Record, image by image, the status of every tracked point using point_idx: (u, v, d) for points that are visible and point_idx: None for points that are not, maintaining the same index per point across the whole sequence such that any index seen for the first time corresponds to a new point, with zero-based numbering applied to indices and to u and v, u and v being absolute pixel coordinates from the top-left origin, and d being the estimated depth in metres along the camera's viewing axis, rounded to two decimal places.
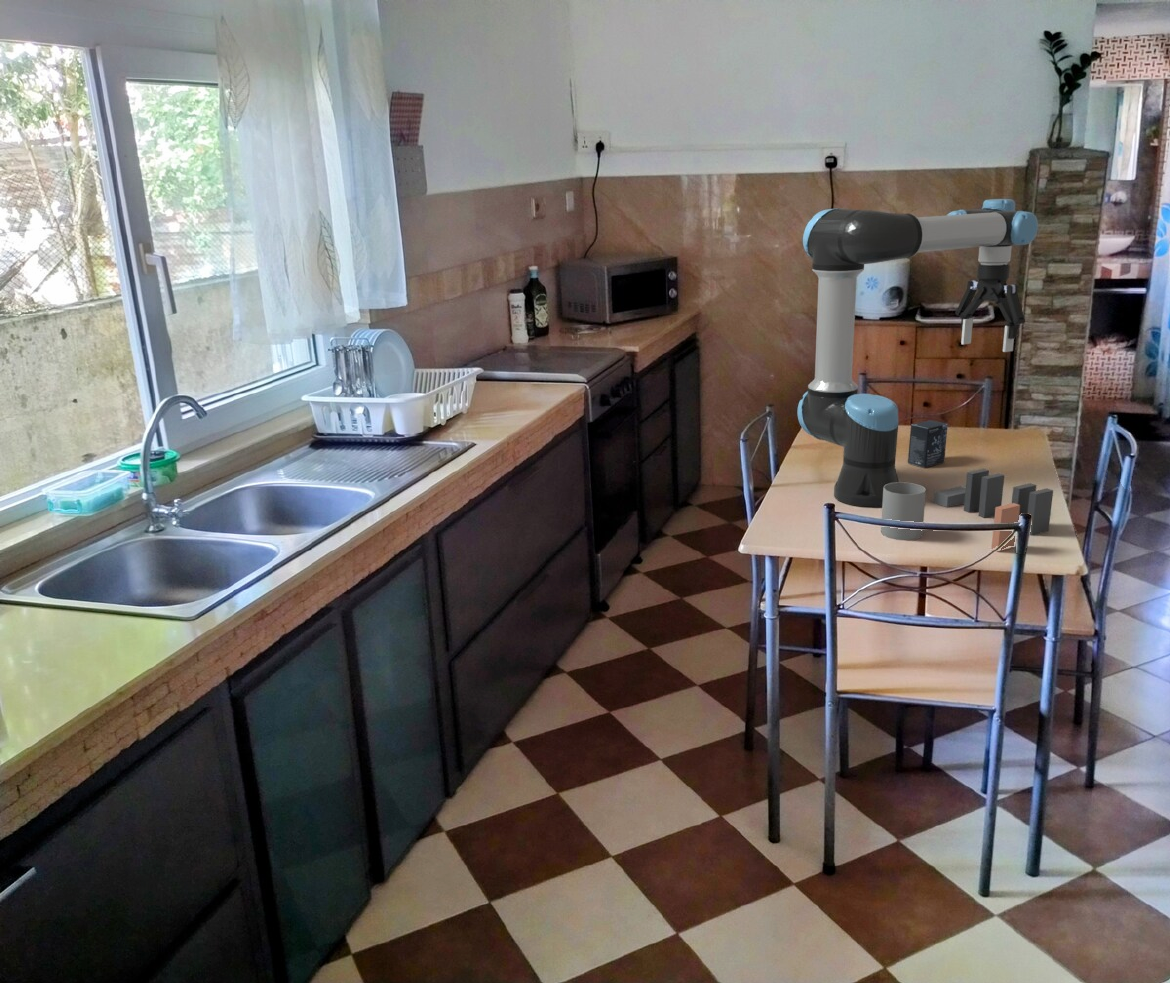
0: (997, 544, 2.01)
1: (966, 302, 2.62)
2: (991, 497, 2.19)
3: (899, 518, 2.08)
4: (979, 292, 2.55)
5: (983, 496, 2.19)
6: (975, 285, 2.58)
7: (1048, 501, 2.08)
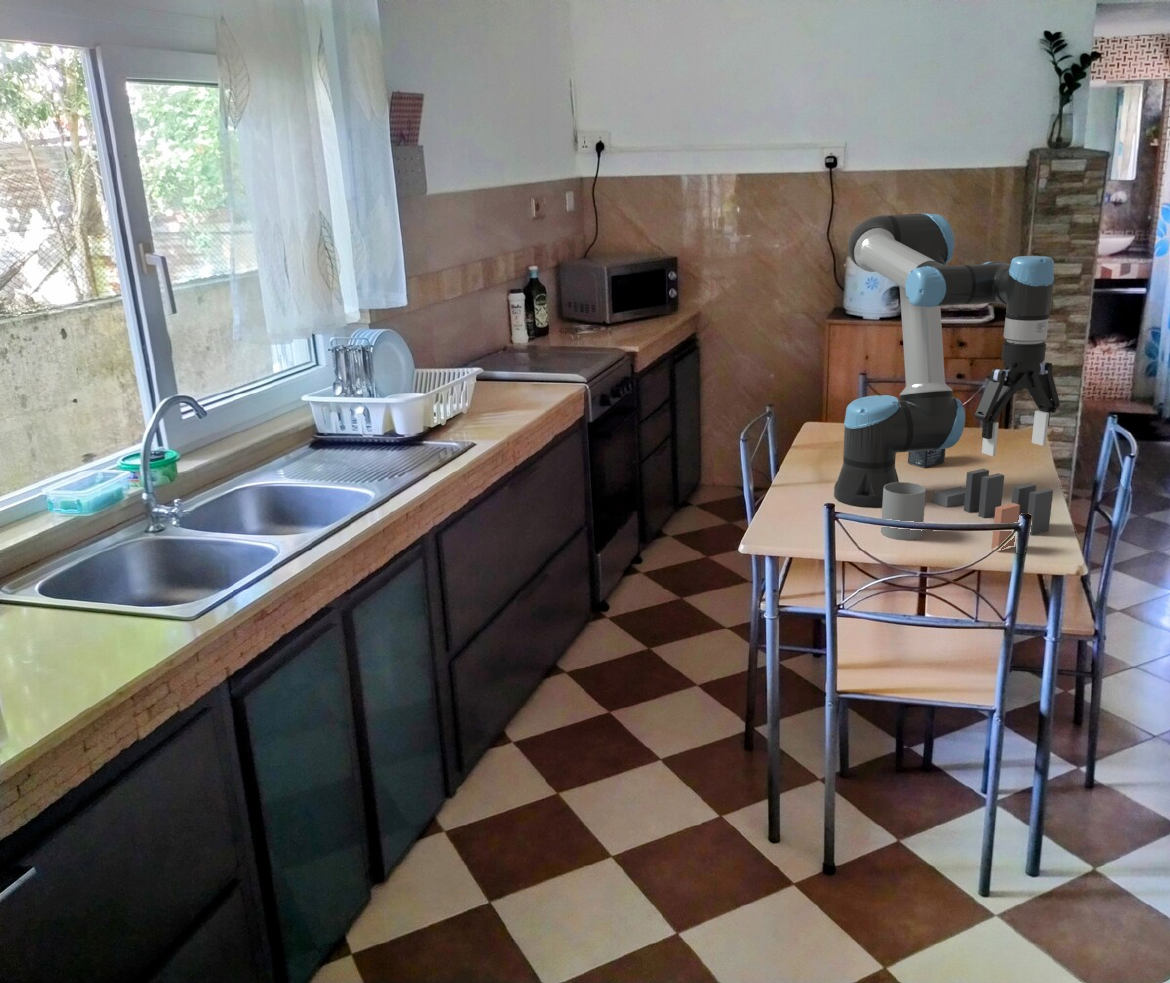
0: (997, 544, 2.01)
1: (1045, 389, 1.96)
2: (991, 496, 2.19)
3: (899, 518, 2.08)
4: None
5: (983, 496, 2.19)
6: None
7: (1048, 501, 2.08)
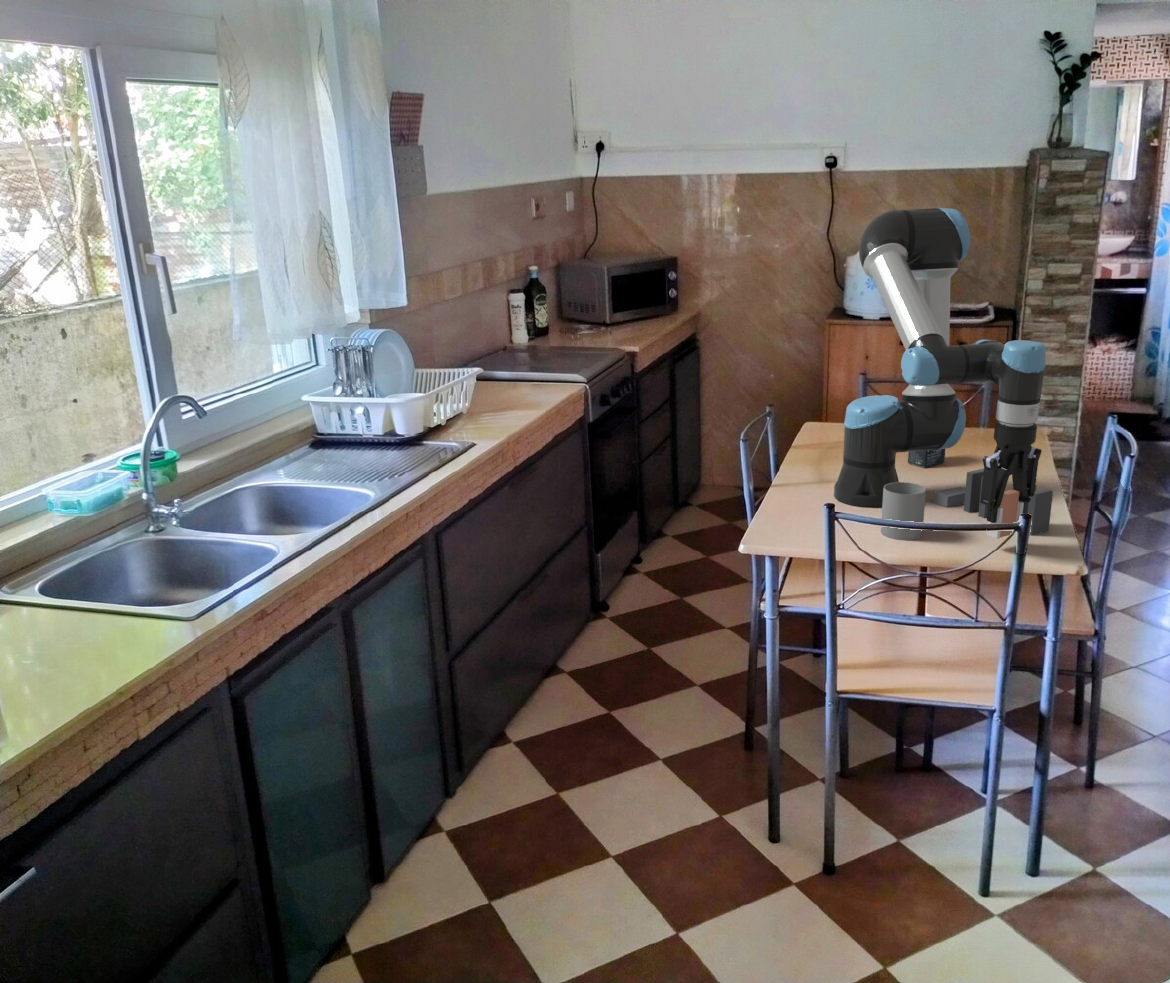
0: None
1: (1025, 475, 2.01)
2: None
3: (899, 518, 2.08)
4: None
5: None
6: None
7: (1048, 501, 2.08)
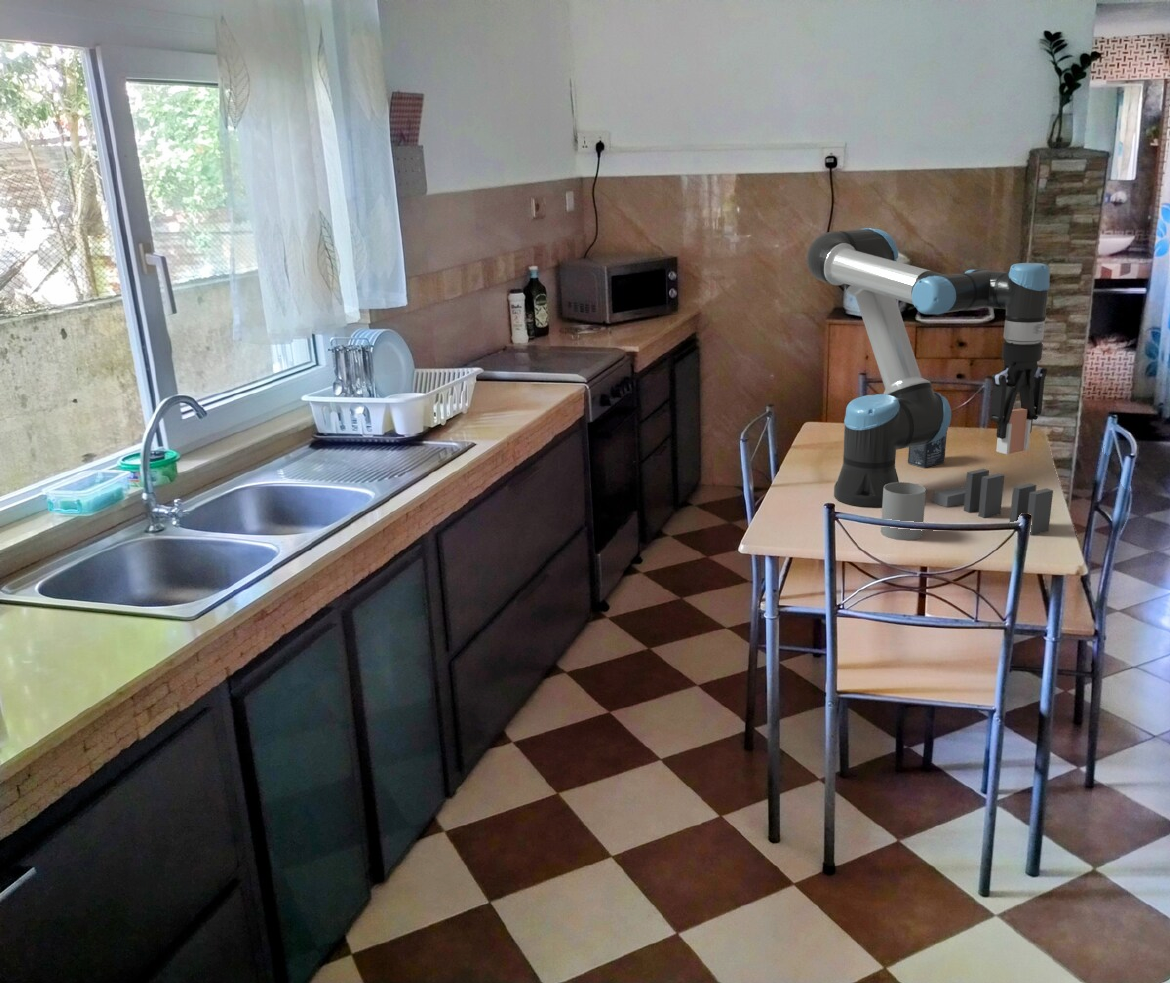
0: None
1: (1032, 394, 2.12)
2: (991, 497, 2.19)
3: (899, 518, 2.08)
4: None
5: (983, 496, 2.19)
6: None
7: (1048, 501, 2.08)
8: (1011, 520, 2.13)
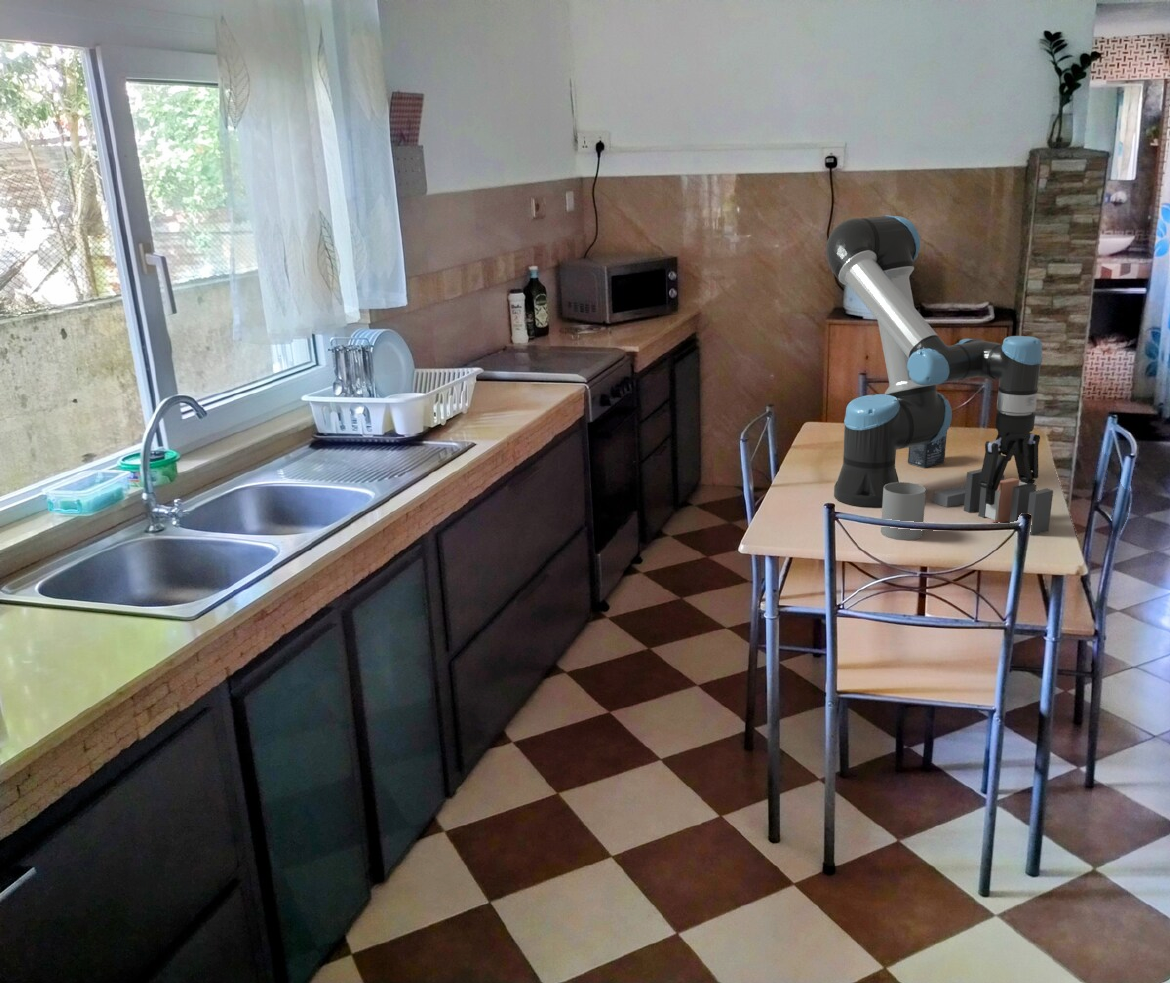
0: (998, 516, 2.16)
1: (1028, 459, 2.17)
2: None
3: (899, 518, 2.08)
4: None
5: (983, 496, 2.19)
6: None
7: (1048, 501, 2.08)
8: (1011, 520, 2.13)
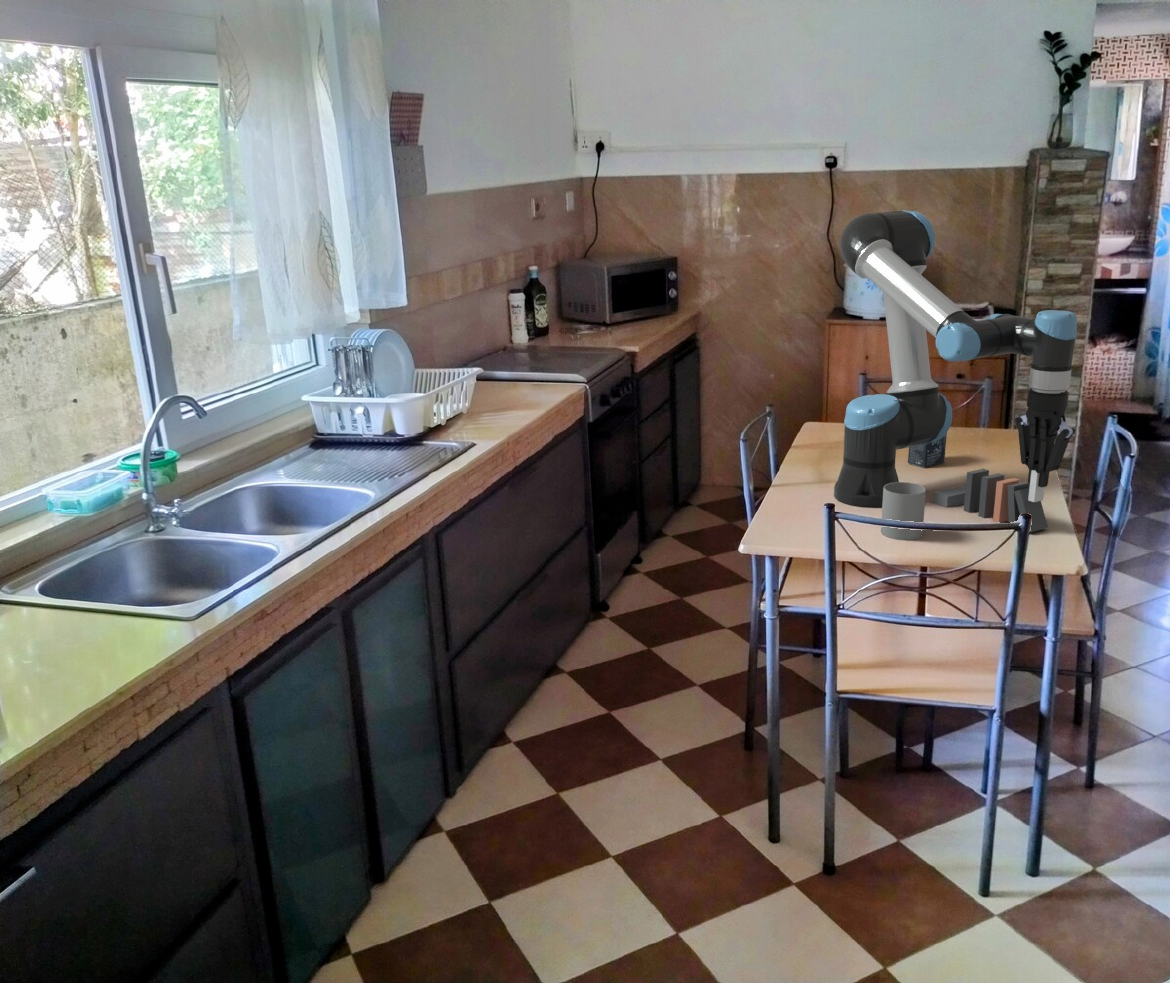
0: (998, 516, 2.16)
1: (1027, 443, 2.09)
2: (991, 496, 2.19)
3: (899, 518, 2.08)
4: (1032, 425, 2.05)
5: (983, 496, 2.19)
6: (1025, 418, 2.08)
7: None
8: (1010, 519, 2.13)
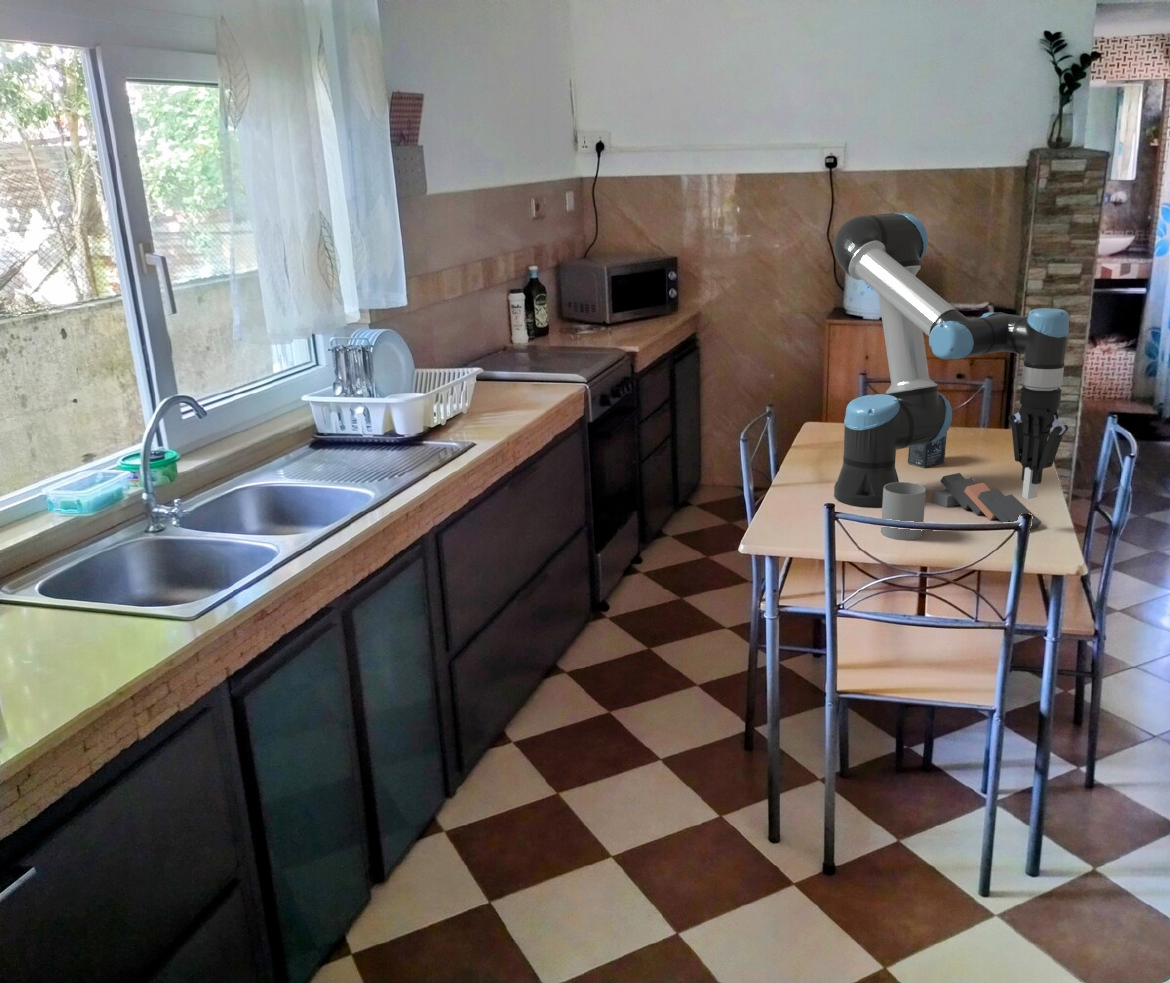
0: (988, 510, 2.18)
1: (1020, 441, 2.10)
2: None
3: (899, 518, 2.08)
4: (1025, 423, 2.06)
5: (965, 497, 2.23)
6: (1018, 416, 2.09)
7: (1015, 501, 2.16)
8: (1001, 519, 2.15)
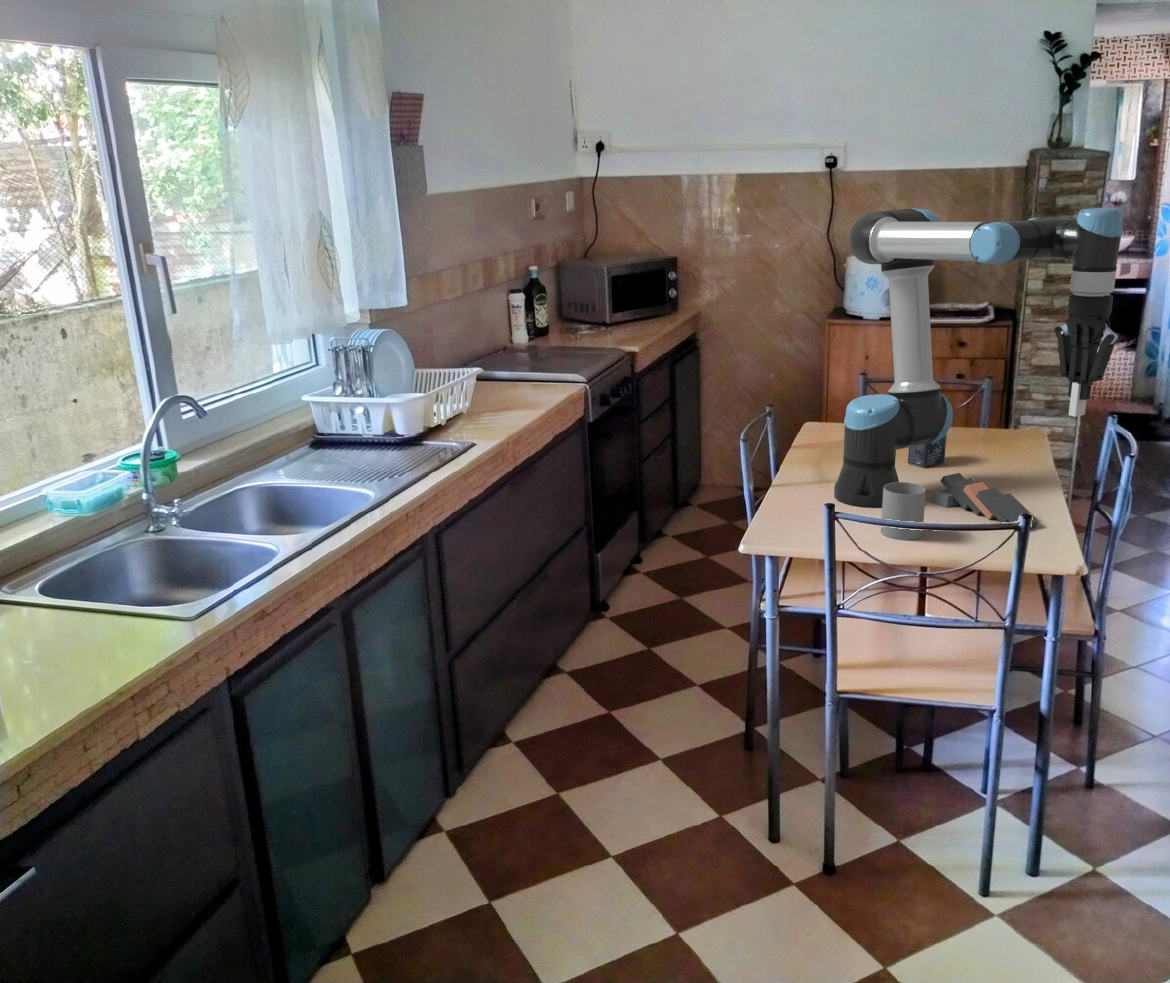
0: (986, 510, 2.19)
1: (1067, 354, 1.96)
2: None
3: (899, 518, 2.08)
4: (1073, 334, 1.93)
5: (965, 497, 2.23)
6: (1065, 327, 1.96)
7: (1013, 500, 2.17)
8: (998, 518, 2.16)
